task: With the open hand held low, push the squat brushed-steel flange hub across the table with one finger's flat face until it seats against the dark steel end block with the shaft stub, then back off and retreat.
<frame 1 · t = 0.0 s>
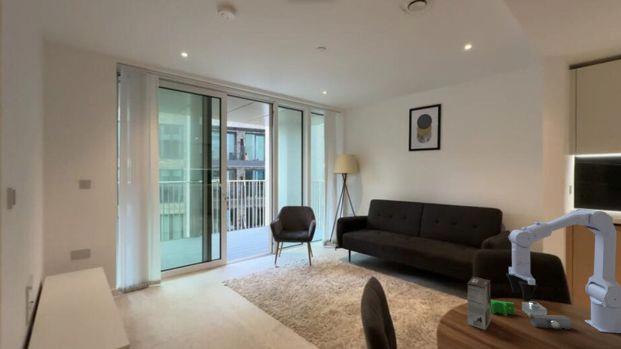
hand: (521, 296, 113), 10 cm above the table, fingers open, 7 cm apart
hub: (534, 314, 120), on the table
end block: (550, 326, 110), on the table
pipe clamp: (498, 313, 121), on the table
coffee box: (479, 323, 113), on the table
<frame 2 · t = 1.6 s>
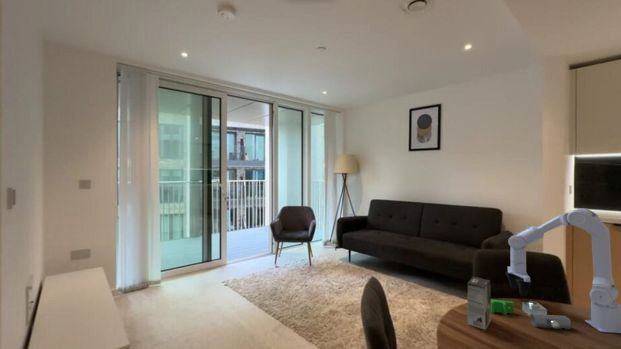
hand: (518, 292, 131), 4 cm above the table, fingers open, 7 cm apart
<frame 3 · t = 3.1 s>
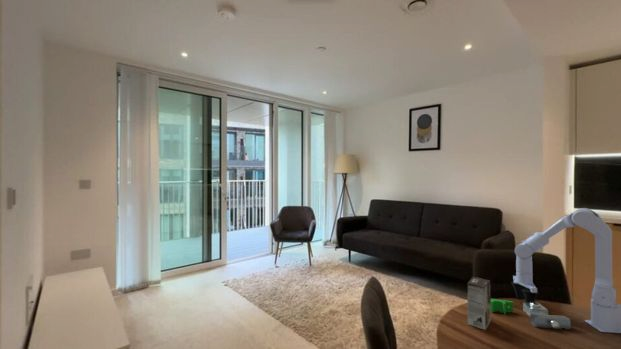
hand: (524, 302, 126), 1 cm above the table, fingers open, 7 cm apart
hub: (535, 314, 119), on the table, touching gripper
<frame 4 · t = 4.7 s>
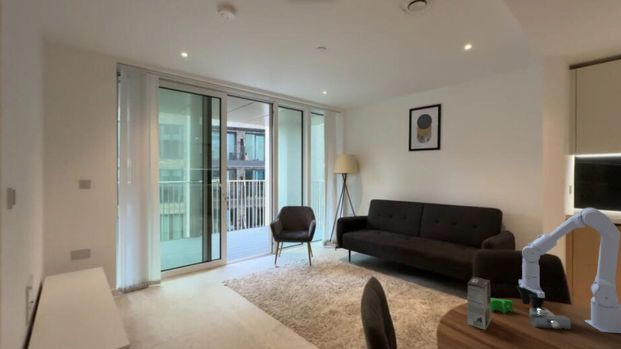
hand: (531, 307, 122), 1 cm above the table, fingers open, 7 cm apart
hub: (542, 320, 114), on the table, touching end block, gripper
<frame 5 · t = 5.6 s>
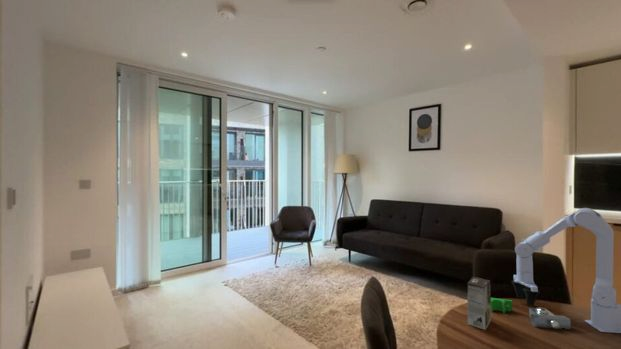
hand: (525, 301, 126), 2 cm above the table, fingers open, 7 cm apart
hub: (542, 320, 114), on the table
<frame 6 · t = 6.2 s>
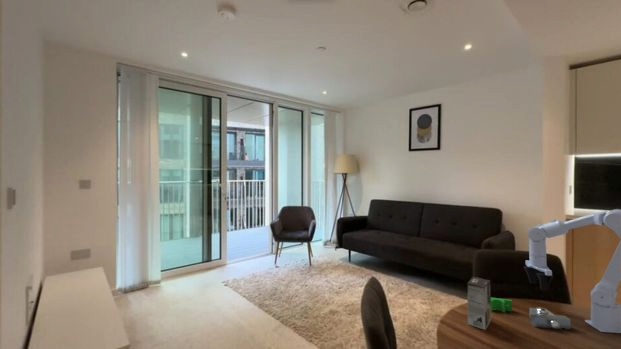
hand: (538, 286, 124), 9 cm above the table, fingers open, 7 cm apart
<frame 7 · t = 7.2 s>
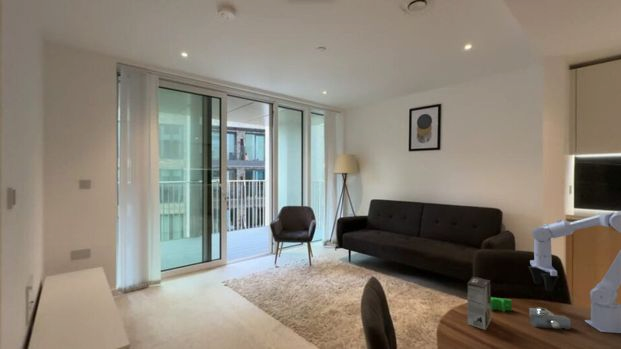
hand: (543, 287, 123), 9 cm above the table, fingers open, 7 cm apart
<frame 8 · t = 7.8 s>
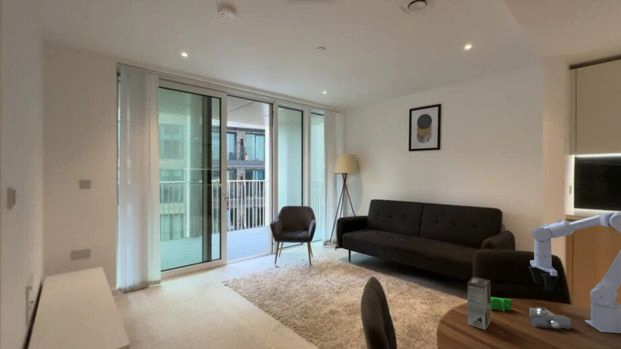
hand: (543, 287, 123), 9 cm above the table, fingers open, 7 cm apart
at the end: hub 1.0 cm from the target spot on the table beside the end block, on the table; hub tilted 0°; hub moved 5.5 cm from its start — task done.
